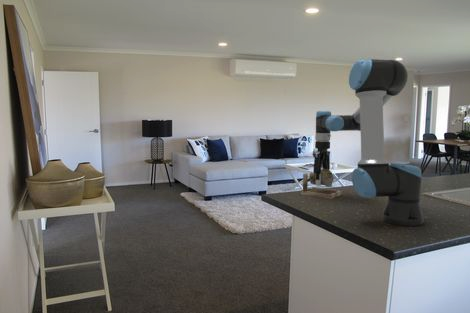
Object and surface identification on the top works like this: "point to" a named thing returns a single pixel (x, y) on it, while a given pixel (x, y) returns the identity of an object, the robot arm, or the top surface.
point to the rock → (322, 177)
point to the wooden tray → (318, 190)
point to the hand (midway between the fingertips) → (321, 184)
